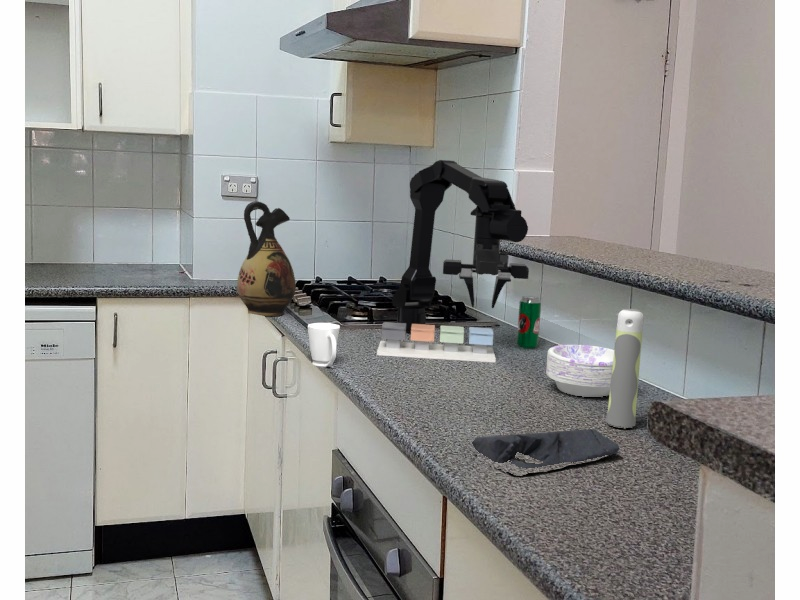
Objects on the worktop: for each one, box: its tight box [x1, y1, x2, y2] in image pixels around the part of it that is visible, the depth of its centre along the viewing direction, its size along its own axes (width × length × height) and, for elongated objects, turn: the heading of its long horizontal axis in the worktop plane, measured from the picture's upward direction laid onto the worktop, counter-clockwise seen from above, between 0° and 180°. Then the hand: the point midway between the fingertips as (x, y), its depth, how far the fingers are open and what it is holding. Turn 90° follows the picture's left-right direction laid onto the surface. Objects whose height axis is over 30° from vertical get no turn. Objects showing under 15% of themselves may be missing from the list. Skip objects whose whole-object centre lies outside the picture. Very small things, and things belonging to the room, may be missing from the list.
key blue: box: [468, 326, 494, 346], centre depth 196 cm, size 5×5×3 cm
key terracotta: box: [410, 324, 436, 343], centre depth 197 cm, size 5×5×3 cm
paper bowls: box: [545, 344, 614, 398], centre depth 169 cm, size 15×15×8 cm
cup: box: [307, 322, 341, 368], centre depth 179 cm, size 7×10×8 cm
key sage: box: [439, 325, 465, 344], centre depth 197 cm, size 5×5×3 cm
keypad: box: [376, 339, 497, 363], centre depth 197 cm, size 26×12×4 cm, turn 87°
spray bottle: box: [605, 308, 645, 427], centre depth 146 cm, size 5×5×20 cm
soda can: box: [516, 295, 542, 350], centre depth 209 cm, size 5×5×12 cm
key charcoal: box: [381, 321, 407, 341], centre depth 197 cm, size 5×5×3 cm
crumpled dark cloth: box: [472, 428, 620, 469], centre depth 131 cm, size 15×22×5 cm
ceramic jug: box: [236, 200, 297, 317], centre depth 233 cm, size 17×15×30 cm
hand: (482, 307), depth 195 cm, fingers open, 4 cm apart
